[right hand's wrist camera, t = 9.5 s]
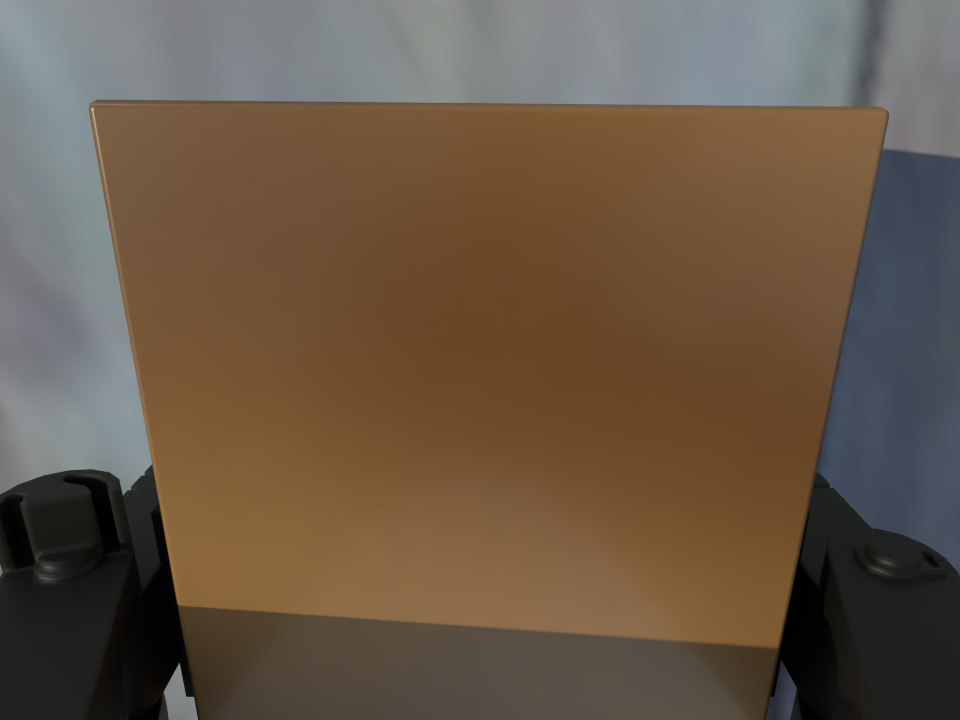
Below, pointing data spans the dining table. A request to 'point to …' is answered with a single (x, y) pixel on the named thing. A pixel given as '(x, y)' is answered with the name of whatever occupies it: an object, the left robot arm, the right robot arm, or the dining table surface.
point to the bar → (485, 394)
